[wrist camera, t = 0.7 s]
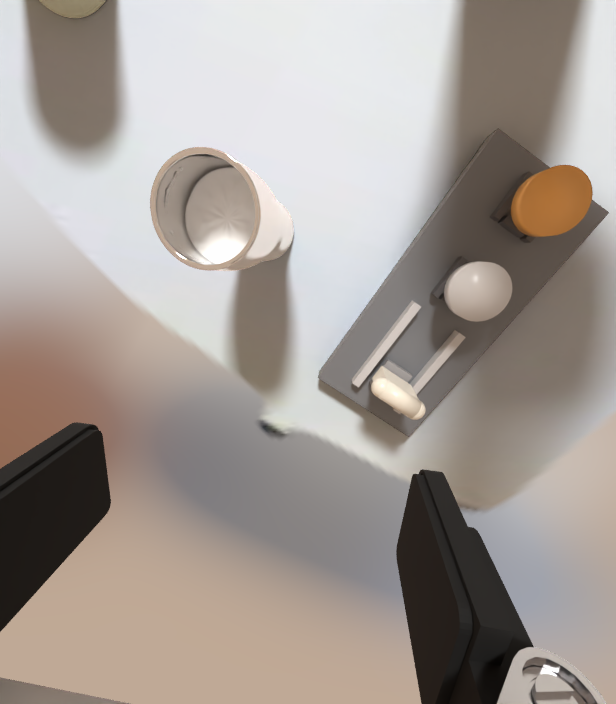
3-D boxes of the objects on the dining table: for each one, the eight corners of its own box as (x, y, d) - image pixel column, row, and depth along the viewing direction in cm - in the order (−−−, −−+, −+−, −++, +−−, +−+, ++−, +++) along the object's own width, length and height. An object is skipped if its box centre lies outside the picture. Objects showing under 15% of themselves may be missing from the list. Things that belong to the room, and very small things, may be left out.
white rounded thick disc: (465, 250, 28) (477, 249, 25) (509, 281, 28) (525, 284, 26) (429, 296, 29) (437, 300, 27) (471, 325, 30) (483, 332, 27)
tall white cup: (312, 231, 32) (289, 214, 18) (264, 279, 34) (208, 297, 20) (264, 175, 31) (199, 110, 17) (217, 228, 33) (122, 209, 19)
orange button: (535, 160, 25) (556, 150, 23) (582, 196, 26) (607, 190, 23) (492, 216, 27) (507, 212, 24) (537, 249, 27) (556, 248, 25)
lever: (377, 351, 33) (384, 372, 27) (420, 380, 33) (436, 406, 27) (359, 374, 34) (363, 399, 28) (401, 401, 34) (414, 432, 28)
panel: (487, 136, 29) (505, 122, 26) (591, 215, 30) (620, 210, 26) (319, 371, 37) (317, 382, 34) (405, 427, 38) (410, 442, 34)
